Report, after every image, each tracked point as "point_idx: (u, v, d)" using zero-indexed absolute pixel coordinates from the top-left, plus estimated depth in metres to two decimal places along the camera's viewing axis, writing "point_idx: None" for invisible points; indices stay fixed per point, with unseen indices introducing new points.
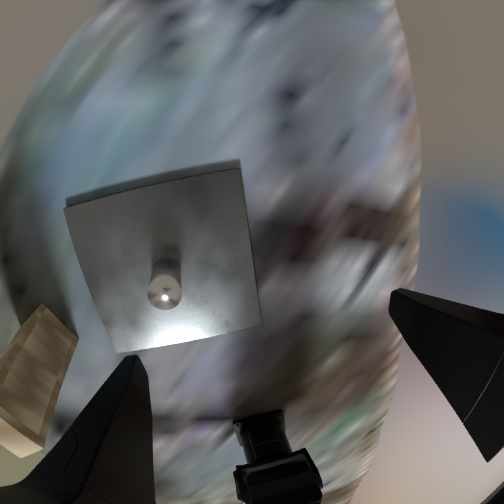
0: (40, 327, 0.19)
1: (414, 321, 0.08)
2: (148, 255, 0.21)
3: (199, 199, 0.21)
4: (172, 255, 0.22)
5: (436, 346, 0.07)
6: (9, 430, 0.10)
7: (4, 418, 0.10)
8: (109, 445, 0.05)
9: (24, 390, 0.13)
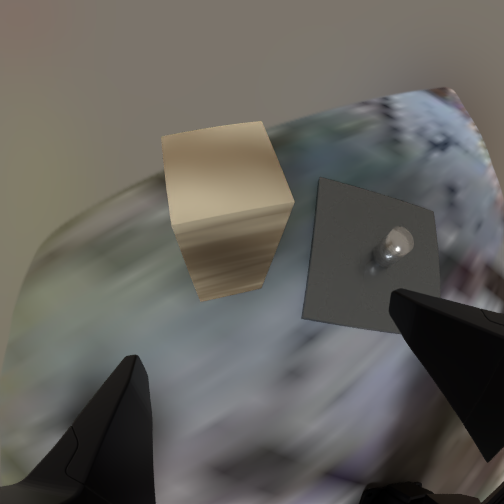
0: None
1: (414, 321, 0.08)
2: (374, 235, 0.26)
3: (412, 217, 0.27)
4: None
5: (436, 346, 0.07)
6: (254, 159, 0.12)
7: None
8: (109, 445, 0.05)
9: None
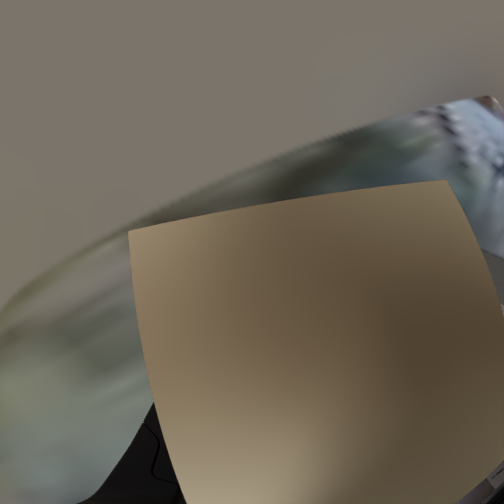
0: None
1: None
2: None
3: (492, 273, 0.17)
4: None
5: None
6: (468, 339, 0.03)
7: None
8: None
9: None
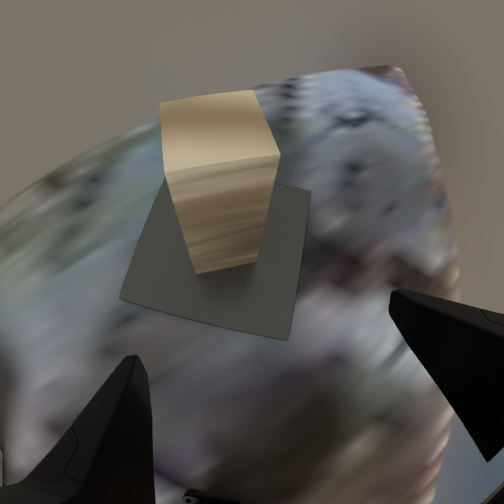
0: None
1: (414, 321, 0.08)
2: None
3: (273, 198, 0.26)
4: None
5: (436, 346, 0.07)
6: (244, 120, 0.13)
7: None
8: (109, 445, 0.05)
9: None
